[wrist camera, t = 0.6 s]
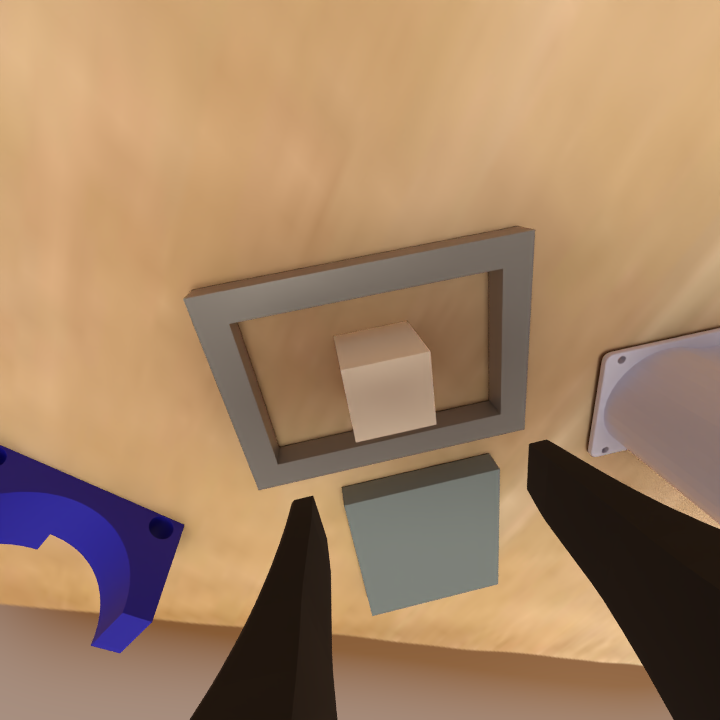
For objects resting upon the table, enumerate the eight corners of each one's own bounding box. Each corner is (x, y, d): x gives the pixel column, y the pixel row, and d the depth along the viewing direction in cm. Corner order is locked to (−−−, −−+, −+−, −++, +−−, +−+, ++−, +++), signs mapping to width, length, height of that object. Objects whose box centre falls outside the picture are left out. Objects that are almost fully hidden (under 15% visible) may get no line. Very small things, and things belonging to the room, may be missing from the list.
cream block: (406, 320, 20) (430, 351, 16) (413, 383, 21) (436, 424, 18) (333, 335, 19) (340, 370, 16) (346, 398, 21) (355, 442, 18)
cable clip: (-64, 484, 20) (-198, 595, 15) (-28, 429, 19) (-157, 527, 14) (146, 562, 25) (104, 668, 19) (185, 522, 24) (151, 622, 18)
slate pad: (488, 453, 25) (499, 469, 23) (489, 566, 30) (498, 584, 29) (341, 487, 24) (344, 505, 23) (369, 596, 29) (372, 615, 28)
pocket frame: (517, 226, 18) (534, 229, 17) (511, 415, 23) (524, 429, 22) (192, 289, 17) (183, 298, 16) (261, 471, 22) (258, 490, 21)
